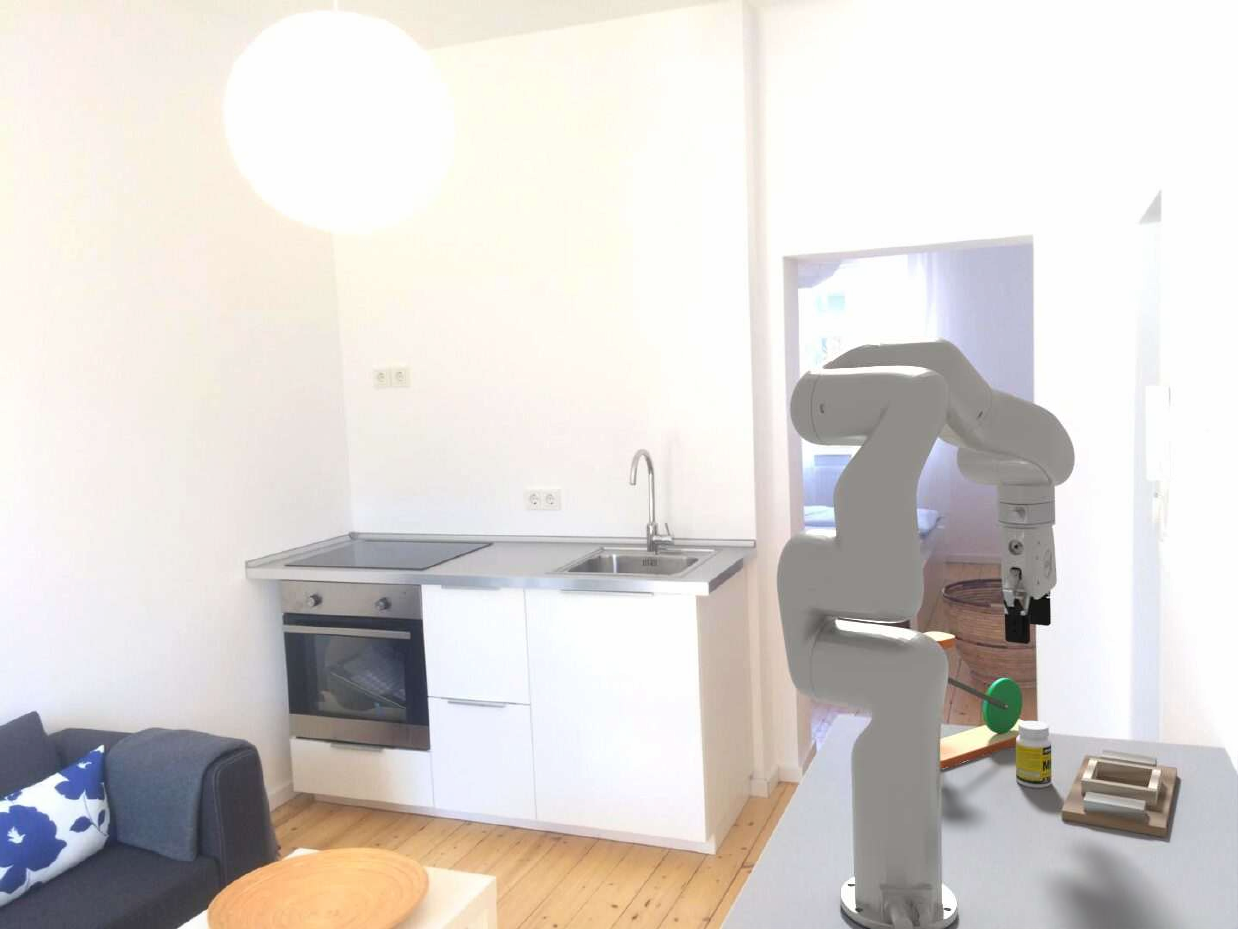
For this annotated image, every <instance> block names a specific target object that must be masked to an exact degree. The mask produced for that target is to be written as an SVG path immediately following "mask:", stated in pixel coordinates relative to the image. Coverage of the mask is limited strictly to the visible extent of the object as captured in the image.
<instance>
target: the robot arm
mask: <svg viewBox="0 0 1238 929" xmlns="http://www.w3.org/2000/svg"><path fill="white" fill-rule="evenodd" d="M789 402H790V404H789V414H790V419H791V423H792V425H793V428H794V430H795V431H796V433H797V434H798V435H799V436H800V437H801V438H802V439H803V440H805V441H806V442H809V443H811V444H814V445H817V446H829V447H830V446H838V447H839V446H843V447H845V446H846V447H849V446H850V447H851V446H852V447H860V448H859V449H858V450H857V452H856V453H855V454H854V455H853V457H852V458H851V459H850V461H849V462H848V463H847V464H846V465H845V467H844V469H843V470H842V472H841V473H840V475H839V477H838V479H837V481H836V484H835V486H834V489H833V495H832V496H833V497H832V499H833V500H832V501H833V502H832V503H833V513H834V514H833V515H834V524H835V525H834V526H835V527H834V528H835V530H833V529H806V530H802V531H800V532H798V533H796V534H794V535H793V536H791V537H790V538H789V539H788V540H787V542H786V543H785V544H784V547H783V548H782V551H781V552H780V553H781V554H780V556H779V560H778V563H777V570H776V571H777V572H776V589H777V600H778V607H779V613H780V621H781V628H782V635H783V642H784V647H785V648H784V649H785V656H786V662H787V668H788V672H789V675H790V679H791V681H792V684H793V685H794V688H795V689H796V691H797V692H798V693H799V694H800V695H801V696H803V697H805V698H807V699H809V700H811V701H814V702H815V701H816V702H820V703H824V704H827V705H828V704H829V705H833V706H838V707H843V708H849V709H854V710H857V711H861V712H865V713H868V714H869V715H870V717H871V719H870V721H869V723H868V725H867V726H866V727H865V728H864V729H863V730H862V731H861V732H860V733H859V734H858V736H857V737H856V739H855V741H854V743H853V746H852V749H851V755H850V767H851V768H850V769H851V770H850V771H851V798H852V799H851V800H852V801H851V802H852V804H851V805H852V807H851V808H852V844H853V846H852V848H853V849H852V850H853V877H852V878H850V879H849V880H847V881H846V882H845V883H844V884H843V885H842V887H841V889H840V895H839V896H840V905H841V908H842V910H843V911H844V913H845V914H846V915H847V916H848V917H849V918H850V919H852V920H853V921H855V923H858V924H860V925H861V926H863V927H865V928H868V929H946V928H947V927H949V926H950V925H951V924H953V923H954V921H956V919H957V917H958V913H959V912H958V900H957V897H956V896H955V894H954V893H953V892H952V890H950V889H949V888H948V887H947V886H946V885H944V884H943V844H942V843H943V842H942V839H943V838H942V836H943V835H942V792H941V791H942V785H941V782H942V781H941V780H942V779H941V778H942V777H941V770H940V739H942V738H941V737H942V736H941V733H942V722H943V721H942V720H943V714H944V713H943V712H944V705H945V699H946V693H947V687H948V683H947V682H948V677H949V661H948V660H949V659H948V656H947V654H946V652H945V649H943V648H942V647H941V645H940V644H939V643H938V642H937V641H935V640H934V639H933V638H931V637H930V636H928V635H926V634H923V633H924V632H920V631H917V630H914V629H909V628H906V627H898V626H890V625H884V624H885V623H886V624H893V623H894V624H896V623H903V622H906V621H909V620H911V619H913V618H914V617H916V615H917V614H918V613H919V612H920V609H921V608H922V605H923V602H924V600H923V599H924V594H925V580H924V568H923V558H922V557H923V556H922V551H921V550H922V548H921V540H920V539H921V538H920V530H919V521H918V520H919V519H918V510H917V509H918V508H917V492H918V486H919V481H920V478H921V475H922V472H923V470H924V467H925V465H926V462H927V461H928V458H929V457H930V454H931V452H932V450H933V448H934V445H935V443H936V441H937V439H940V440H941V441H943V442H944V443H947V444H949V445H950V446H955V447H958V448H957V453H956V463H957V467H958V470H959V473H961V475H962V476H963V477H964V478H965V479H966V480H967V481H969V482H971V483H973V484H976V485H977V484H978V485H983V486H996V511H997V513H996V514H997V519H996V520H997V523H996V524H997V525H999V526H1001V527H1002V537H1001V538H1002V540H1001V586H1002V593H1003V597H1004V599H1003V605H1004V607H1003V608H1004V609H1003V612H1004V613H1003V614H1004V636H1005V638H1004V639H1005V641H1006V642H1008V643H1015V644H1022V645H1024V644H1025V645H1028V644H1029V643H1031V625H1036V626H1047V627H1049V626H1050V625H1051V624H1052V616H1051V615H1052V610H1051V607H1052V606H1051V605H1052V604H1051V590H1053V589H1054V588H1055V587H1056V585H1057V580H1058V579H1057V563H1056V562H1057V560H1056V548H1055V536H1054V529H1053V526H1054V525H1055V524H1056V491H1055V490H1056V487H1057V486H1060V485H1062V484H1064V483H1065V482H1067V481H1068V479H1069V478H1070V477H1071V475H1072V472H1074V467H1075V460H1076V457H1075V456H1076V455H1075V454H1076V453H1075V448H1074V446H1073V442H1072V440H1071V437H1070V435H1069V433H1068V431H1067V430H1066V428H1065V427H1064V425H1063V424H1062V423H1061V421H1060V420H1059V419H1058V417H1057V416H1056V415H1055V414H1054V413H1053V412H1051V411H1050V410H1049V409H1047V408H1045V407H1042V406H1041V405H1038V404H1036V403H1034V402H1031V401H1028V400H1026V399H1023V398H1020V397H1018V396H1015V395H1012V394H1011V393H1007V392H1005V391H1002V390H999V389H996V388H993V387H991V386H990V385H989V383H988V382H987V380H985V378H983V376H982V375H981V374H980V372H978V370H977V369H976V368H975V367H974V365H973V364H972V363H971V361H969V359H968V358H967V357H966V356H965V354H964V353H963V352H962V351H961V350H960V348H958V347H957V345H955V344H954V343H952V342H951V341H949V340H948V339H945V338H942V337H935V336H916V337H914V336H913V337H912V336H911V337H897V338H880V339H869V340H865V341H860V342H857V343H854V344H853V345H851V346H848V347H847V348H845V349H842V350H841V351H839V352H837V353H836V354H834V355H832V356H831V357H828V359H825V360H824V361H821V363H819V364H817V365H815V366H814V367H812V368H810V369H809V370H807V371H806V372H805V373H803V375H802V376H801V377H800V379H799V380H798V382H796V385H795V387H794V389H793V391H792V394H791V398H790V401H789ZM1021 600H1022V602H1021ZM838 618H839V619H838ZM841 619H846V620H841ZM847 619H848V620H847ZM850 620H855V621H850ZM856 620H857V621H863V622H857V621H856ZM864 622H866V623H864ZM867 622H871V623H867ZM872 622H873V623H872ZM875 623H882V624H875Z"/></svg>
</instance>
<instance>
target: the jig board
mask: <svg viewBox="0 0 1238 929" xmlns="http://www.w3.org/2000/svg"><path fill="white" fill-rule="evenodd" d="M1177 778H1178V767H1175V766H1174V767H1173V766H1168V765H1167V766H1166V765H1160V764H1158V757H1157V756H1152V755H1146V754H1145V755H1144V754H1138V753H1137V754H1136V753H1131V752H1122V751H1116V750H1107V749H1103V750H1102V752H1101V754H1100V756H1098V755H1092V754H1085V756H1084V758H1083V760H1082V763H1081V765H1080V767H1079V769H1078V772H1077V774H1076V777H1075V779H1074V781H1073V783H1072V785H1071V788H1070V791H1069V793H1068V795H1067V796H1066V800H1065V802H1064V804H1063V807H1062V808H1061V820H1064V821H1071V822H1075V823H1082V824H1087V825H1092V826H1097V827H1102V828H1109V829H1115V830H1120V831H1121V830H1122V831H1126V832H1133V833H1137V834H1138V833H1139V834H1144V835H1148V834H1149V836H1154V837H1155V836H1156V837H1161V838H1165V837H1166V835H1167V834H1166V833H1167V829H1168V824H1169V818H1170V814H1171V808H1172V804H1173V798H1174V794H1175V787H1176V783H1177Z"/></svg>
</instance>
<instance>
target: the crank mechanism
mask: <svg viewBox="0 0 1238 929" xmlns="http://www.w3.org/2000/svg"><path fill="white" fill-rule="evenodd" d="M922 633H923V634H926V635H928V636H930V637H931V638H933V639H934V640H935V641H937V642H938V643H939V644H940V645H941V647H942V648H943V649H944V650H945V649H949V648H953V647H955V646H956V636H955V635H954V634H951V633H946V632H943V631H927V632H922ZM947 684H949V685H952V686H953V687H956V688H958V689H960V690H963V691H965V692H967V693H969V694H971V695H973V696H975V697H977V698H979V699H982V700H983V704H982V717H983V722H984V725H981V726H978V727H974V728H972V729H971V728H970V729H968V730H965V731H962V732H958V733H955V734H952V735H949V736H946V737H943V738H940V769H942V768H946V767H949V768H951V766H952V767H954V765H955V766H957V765H956V764H958V765H960V764H959V763H961V764H963V763H962V762H964V761H967V760H970V761H973V760H976V759H979V758H982V757H984V756H983V755H985V756H988V755H991V754H994V753H996V752H999V751H1003V750H1005V749H1008V748H1011V747H1014V746H1015V747H1016V738H1017V737H1018V736H1019V732H1018V727H1019V723H1020V722H1023V721H1024V720H1023V719H1020V716H1021V714H1022V709H1023V694H1022V691H1021V688H1020V686H1019V684H1018V683H1017V682H1016V681H1015V680H1013V679H1010V678H1008V677H1006V678H1005V677H1002V678H998V679H997V680H995V681H993V683H992V684H991V685H990V687H989V688H988V689H987V691H986V693H984V692H981V691H980V690H977V689H975V688H974V687H971V686H969V685H967V684H966V683H963V682H961V681H958V680H956V679H954V678H952V677H950V676H948V682H947ZM987 754H988V755H987ZM981 756H982V757H981ZM978 757H979V758H978ZM975 758H976V759H975ZM972 759H973V760H972ZM967 762H968V761H967ZM964 763H965V762H964ZM946 769H947V768H946ZM942 770H943V769H942Z"/></svg>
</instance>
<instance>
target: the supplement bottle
mask: <svg viewBox="0 0 1238 929" xmlns="http://www.w3.org/2000/svg"><path fill="white" fill-rule="evenodd" d="M1049 730H1050V728H1049V725H1048V724H1047V723H1045V722H1043V721H1038V720H1023V722H1020V723H1019V727H1018V732H1019V736H1018V737H1017V738H1016V745H1015V779H1016V782H1017V783H1018V784H1019V785H1021V786H1025V787H1028V788H1036V789H1043V788H1047V787H1049V786H1050V785H1052V741H1051V740H1050V738H1049V735H1050V732H1049Z"/></svg>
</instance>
